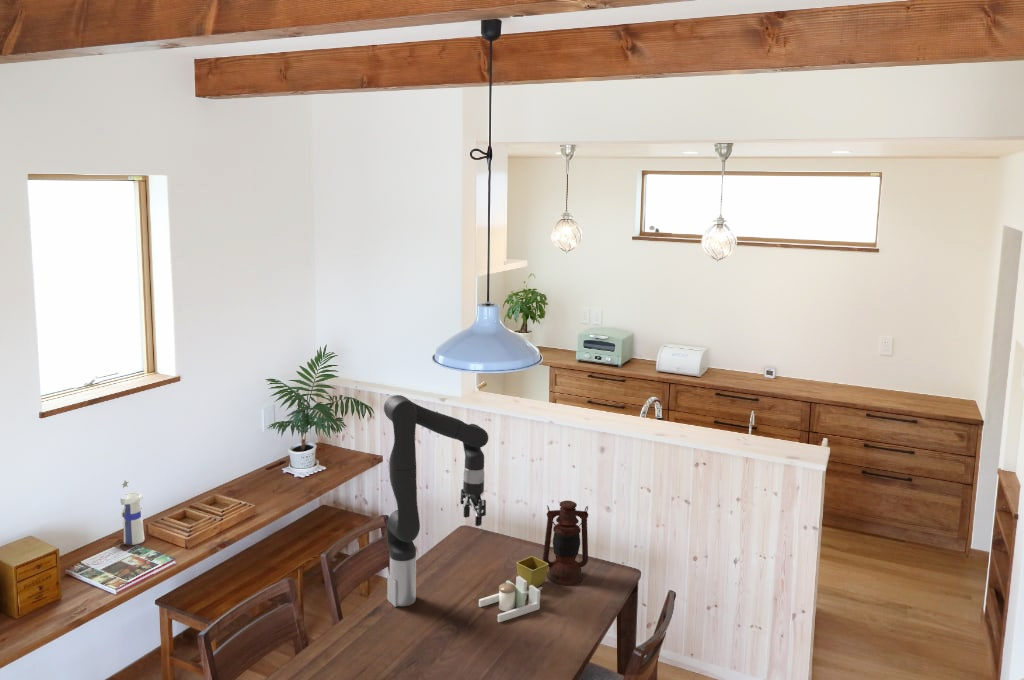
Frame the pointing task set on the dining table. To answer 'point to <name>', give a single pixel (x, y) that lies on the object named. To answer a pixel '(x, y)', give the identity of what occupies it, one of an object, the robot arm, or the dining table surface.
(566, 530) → the lantern
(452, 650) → the dining table surface
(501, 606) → the jar
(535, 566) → the flower pot
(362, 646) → the dining table surface
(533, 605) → the lane
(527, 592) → the pusher
